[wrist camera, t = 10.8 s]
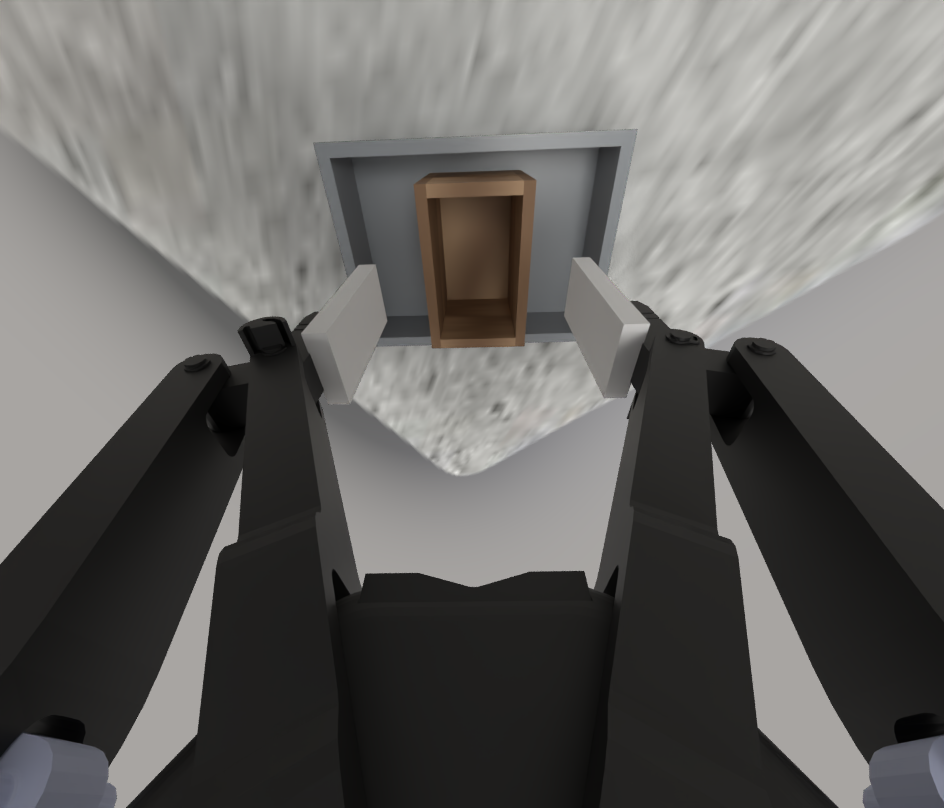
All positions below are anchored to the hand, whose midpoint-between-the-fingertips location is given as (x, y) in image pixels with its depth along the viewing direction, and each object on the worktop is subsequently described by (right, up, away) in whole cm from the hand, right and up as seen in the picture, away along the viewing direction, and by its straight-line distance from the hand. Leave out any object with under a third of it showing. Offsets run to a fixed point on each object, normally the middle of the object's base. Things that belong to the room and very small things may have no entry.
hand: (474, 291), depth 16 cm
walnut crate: (0, +7, +9) cm, 12 cm away
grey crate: (0, +7, +10) cm, 13 cm away
